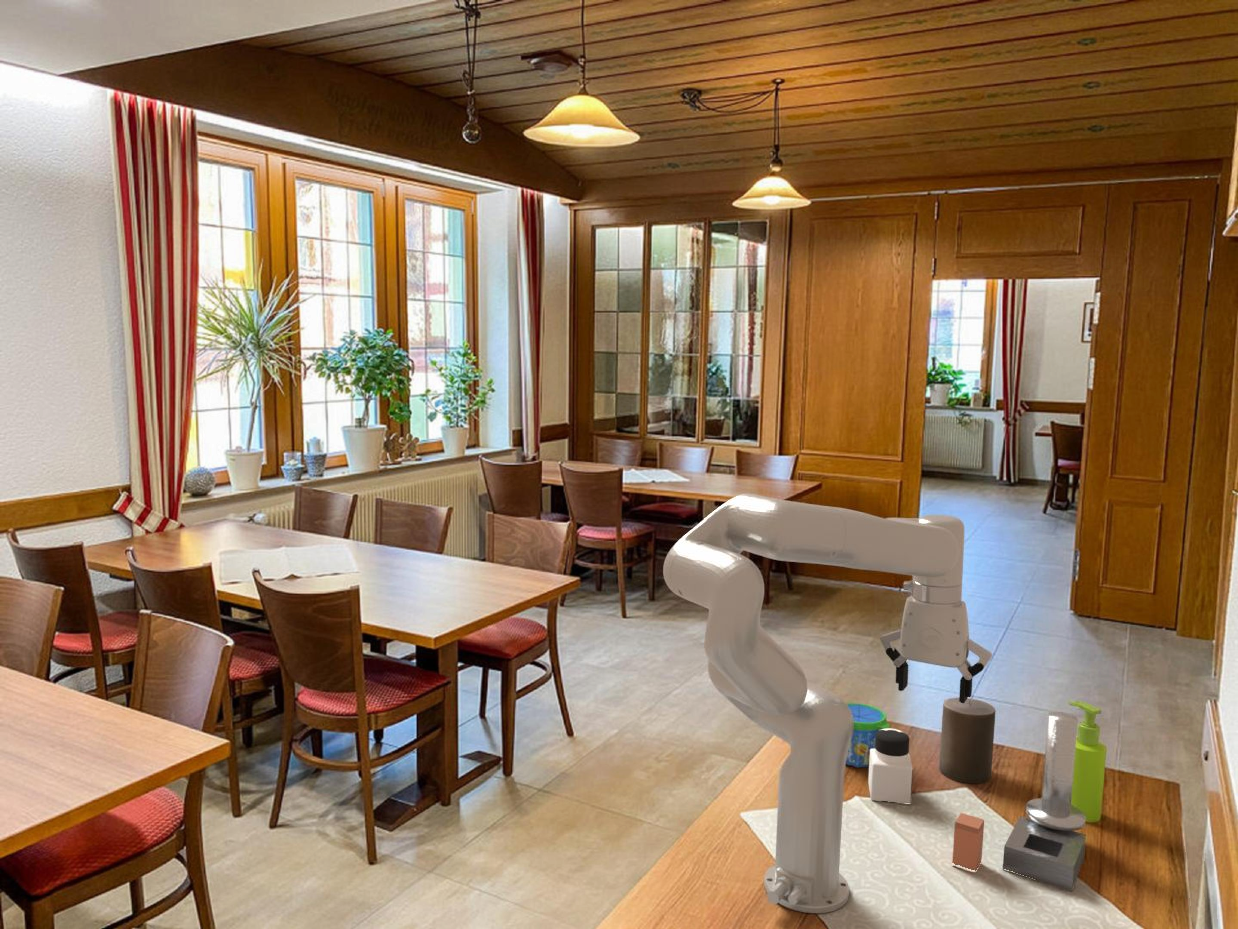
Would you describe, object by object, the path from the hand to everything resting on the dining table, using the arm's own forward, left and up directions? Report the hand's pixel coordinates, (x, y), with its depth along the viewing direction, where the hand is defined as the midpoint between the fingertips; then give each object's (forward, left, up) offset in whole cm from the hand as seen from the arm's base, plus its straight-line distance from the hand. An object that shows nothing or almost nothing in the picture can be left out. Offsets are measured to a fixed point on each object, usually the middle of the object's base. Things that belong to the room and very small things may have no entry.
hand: (932, 694), depth 147 cm
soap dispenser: (+28, -19, -26) cm, 43 cm away
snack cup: (+24, +21, -26) cm, 41 cm away
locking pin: (-2, -7, -26) cm, 27 cm away
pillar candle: (+32, +2, -26) cm, 42 cm away
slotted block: (+9, -17, -26) cm, 33 cm away
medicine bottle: (+14, +11, -26) cm, 32 cm away
